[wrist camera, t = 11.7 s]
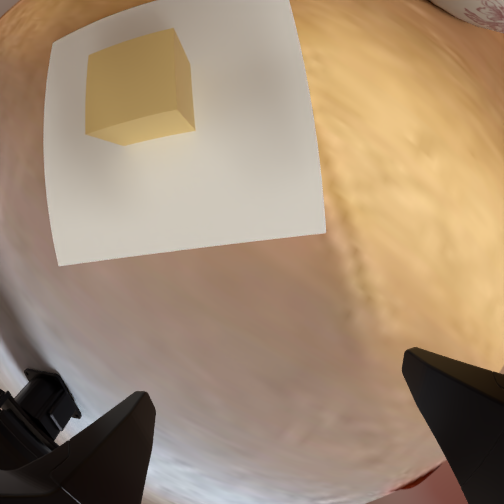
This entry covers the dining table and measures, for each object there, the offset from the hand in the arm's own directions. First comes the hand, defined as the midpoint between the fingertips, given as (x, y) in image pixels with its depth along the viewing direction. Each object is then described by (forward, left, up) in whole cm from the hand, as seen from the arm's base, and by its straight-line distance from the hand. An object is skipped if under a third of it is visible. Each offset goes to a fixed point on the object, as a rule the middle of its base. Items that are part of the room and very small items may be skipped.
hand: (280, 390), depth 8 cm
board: (-5, +13, -12) cm, 18 cm away
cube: (-5, +13, -10) cm, 17 cm away
